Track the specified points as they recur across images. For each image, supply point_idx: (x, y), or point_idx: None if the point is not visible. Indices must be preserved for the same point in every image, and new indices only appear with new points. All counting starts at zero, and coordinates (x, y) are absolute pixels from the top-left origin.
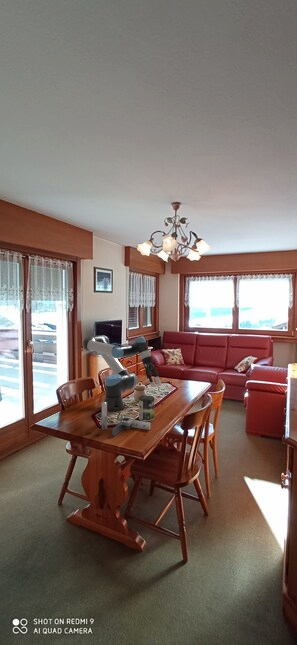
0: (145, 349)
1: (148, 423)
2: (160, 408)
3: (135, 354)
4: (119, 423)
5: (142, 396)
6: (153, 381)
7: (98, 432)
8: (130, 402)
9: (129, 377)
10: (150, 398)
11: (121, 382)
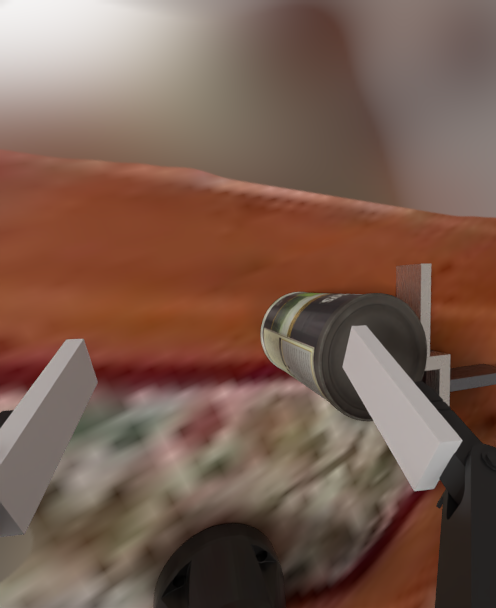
0: None
1: (429, 269)
2: (107, 321)
3: None
4: (467, 386)
5: (354, 406)
6: (402, 371)
7: (476, 434)
8: (74, 566)
9: None
10: (379, 322)
11: None
